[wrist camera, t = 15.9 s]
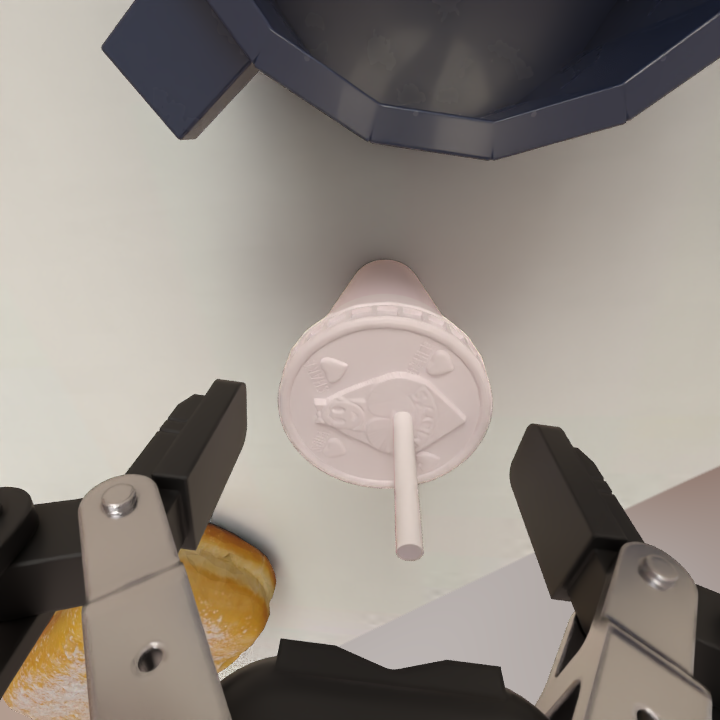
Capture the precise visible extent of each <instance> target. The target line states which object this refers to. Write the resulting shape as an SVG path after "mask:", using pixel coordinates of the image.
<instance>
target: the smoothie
mask: <svg viewBox="0 0 720 720" xmlns="http://www.w3.org/2000/svg"><path fill="white" fill-rule="evenodd" d="M492 407H493V399H492V391H491V386H490V382H489V379H488V377H487V373H486V370H485V366H484V362H483V359H482V356H481V355H480V353H479V352H478V350H477V349H476V347H475V346H474V344H473V343H472V341H471V340H470V338H469V337H468V335H467V334H465V333H464V332H463V331H462V330H460V329H459V328H458V327H457V326H456V325H454V324H453V323H452V322H451V321H449V320H448V319H447V318H445V317H443V315H442V314H441V312H440V311H439V309H438V308H437V306H436V305H435V303H434V302H433V300H432V299H431V297H430V296H429V294H428V293H427V291H426V290H425V288H424V287H423V285H422V284H421V282H420V281H419V279H418V278H417V276H416V275H415V273H414V272H413V271H412V270H411V269H410V268H409V267H407V266H406V265H404V264H402V263H400V262H397V261H394V260H377V261H373V262H371V263H368V264H366V265H365V266H363V267H362V268H361V269H359V270H358V271H357V273H356V274H355V275H354V277H353V278H352V280H351V281H350V282H349V284H348V285H347V287H346V288H345V290H344V291H343V293H342V294H341V296H340V297H339V299H338V300H337V302H336V303H335V305H334V306H333V308H332V309H331V310H330V312H329V313H328V315H327V316H326V317H324V318H323V319H321V320H320V321H318V322H317V323H316V324H314V325H313V326H311V327H310V328H308V329H307V330H306V332H305V333H304V334H303V335H302V337H301V338H300V339H299V340H298V341H297V343H296V344H295V345H294V346H293V348H292V349H291V352H290V354H289V357H288V359H287V362H286V364H285V367H284V369H283V376H282V379H281V382H280V387H279V392H278V410H279V416H280V419H281V423H282V426H283V428H284V431H285V433H286V435H287V436H288V438H289V440H290V441H291V443H292V444H293V446H294V447H295V448H296V449H297V451H298V452H299V453H300V454H301V455H302V456H303V457H304V458H305V459H306V460H307V461H309V462H310V463H311V464H312V465H314V466H315V467H317V468H318V469H319V470H321V471H323V472H325V473H326V474H328V475H330V476H332V477H334V478H337V479H339V480H342V481H344V482H348V483H351V484H355V485H359V486H364V487H372V488H394V490H395V536H396V555H397V556H398V557H399V558H400V559H402V560H405V561H415V560H418V559H420V558H421V557H422V556H423V554H424V548H423V537H422V526H421V514H420V503H419V491H418V484H422V483H425V482H428V481H431V480H434V479H436V478H438V477H441V476H443V475H445V474H446V473H448V472H450V471H452V470H453V469H455V468H456V467H458V466H459V465H460V464H462V463H463V462H464V461H465V460H466V459H467V458H468V457H469V456H470V455H471V454H472V453H473V452H474V451H475V450H476V448H477V447H478V446H479V444H480V443H481V441H482V440H483V438H484V436H485V434H486V432H487V429H488V427H489V424H490V420H491V415H492Z"/></svg>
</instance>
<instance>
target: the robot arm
mask: <svg viewBox="0 0 720 720" xmlns="http://www.w3.org/2000/svg"><path fill="white" fill-rule="evenodd" d="M246 431H247V399H246V385H245V383H243V382H236V381H229V380H221V379H217V380H215V382H214V383H213V384H212V386H211V387H210V389H209V390H208V392H207V393H206V395H205V396H204V395H197V394H194V395H192V396H191V397H189V398H188V399H186V400H184V401H183V402H181V403H180V404H178V405H177V407H176V408H175V409H174V411H173V412H172V413H171V415H170V416H169V417H168V420H166V421H165V422H164V424H163V425H162V426H161V428H160V431H159V432H157V433H156V434H155V436H154V437H153V438H152V440H151V441H150V442H149V443H148V445H147V446H146V447H145V449H144V450H143V451H142V453H141V454H140V455H139V457H138V458H137V459H136V461H135V462H134V463H133V464H132V466H131V467H130V468H129V470H128V471H127V472H126V474H125V475H120V476H116V477H113V478H110V479H108V480H106V481H104V482H102V483H100V484H98V485H97V486H95V487H94V488H93V489H91V490H90V491H89V492H88V493H87V494H86V495H85V496H84V498H81V499H75V500H68V501H60V502H52V503H44V504H36V505H34V504H33V502H32V500H31V497H30V495H29V494H28V493H27V492H26V491H24V490H22V489H19V488H14V487H0V700H1V698H2V696H3V695H4V693H5V692H6V690H7V688H8V687H9V685H10V684H11V682H12V680H13V679H14V677H15V676H16V674H17V672H18V671H19V669H20V668H21V666H22V664H23V663H24V661H25V660H26V658H27V656H28V655H29V653H30V652H31V650H32V648H33V647H34V645H35V644H36V642H37V640H38V639H39V637H40V636H41V634H42V632H43V631H44V629H45V628H46V626H47V624H48V623H49V621H50V620H51V618H52V616H53V615H54V613H55V612H56V611H59V610H64V609H69V608H74V607H79V606H82V612H81V616H82V631H83V643H84V655H85V666H86V678H87V690H88V701H89V713H90V720H720V594H719V593H717V592H714V591H712V590H709V589H707V588H704V587H702V586H699V585H697V584H695V583H694V581H693V579H692V578H691V576H690V575H689V573H688V572H687V571H686V570H685V569H684V568H683V567H682V566H681V565H680V564H679V563H678V562H677V561H676V560H675V559H673V558H672V557H671V556H670V555H668V554H667V553H665V552H664V551H662V550H660V549H658V548H656V547H654V546H652V545H649V544H646V543H644V541H643V540H642V538H641V537H640V535H639V533H638V532H637V530H636V529H635V527H634V525H633V524H632V522H631V521H630V519H629V517H628V516H627V514H626V513H625V511H624V510H623V508H622V506H621V505H620V503H619V502H618V500H617V498H616V497H615V495H612V491H611V489H610V487H609V486H608V484H607V483H606V481H604V480H603V479H604V478H603V476H602V475H601V473H600V472H599V470H598V468H597V467H596V465H595V464H594V462H593V461H592V460H590V459H589V458H588V457H587V456H586V455H585V454H584V453H583V452H582V451H581V450H579V449H578V448H574V447H573V446H572V445H571V443H570V441H569V439H568V438H567V436H566V434H565V433H564V431H563V430H562V429H561V428H560V427H554V426H547V425H540V424H530V425H529V426H528V427H527V429H526V431H525V433H524V436H523V438H522V440H521V442H520V445H519V447H518V449H517V452H516V454H515V456H514V458H513V461H512V463H511V467H510V483H511V487H512V490H513V492H514V495H515V498H516V501H517V504H518V507H519V509H520V512H521V515H522V518H523V521H524V523H525V526H526V529H527V532H528V535H529V537H530V540H531V543H532V546H533V549H534V551H535V554H536V557H537V560H538V563H539V565H540V568H541V571H542V573H543V577H544V579H545V582H546V585H547V588H548V591H549V593H550V596H551V599H556V600H564V601H571V602H572V605H573V607H574V610H575V612H574V613H573V614H572V616H571V617H570V619H569V622H568V625H567V627H566V630H565V633H564V636H563V639H562V642H561V644H560V647H559V650H558V653H557V655H556V658H555V661H554V664H553V667H552V669H551V672H550V675H549V678H548V681H547V683H546V685H545V688H544V690H543V692H542V694H541V696H540V698H539V700H538V701H537V703H536V705H535V706H534V705H532V704H531V703H530V702H529V701H527V700H526V699H524V698H523V697H522V696H520V695H518V694H516V693H515V692H513V691H511V690H510V689H508V688H505V686H504V681H503V676H502V672H501V667H498V666H490V665H483V664H475V663H466V662H459V661H452V660H444V661H438V662H433V663H428V664H423V665H417V666H412V667H408V668H402V669H396V670H392V669H387V668H385V667H382V666H380V665H378V664H376V663H373V662H371V661H369V660H366V659H364V658H362V657H360V656H357V655H355V654H353V653H351V652H348V651H346V650H344V649H342V648H340V647H337V646H335V645H327V644H319V643H312V642H304V641H296V640H288V639H281V640H280V644H279V649H278V654H277V656H274V657H269V658H265V659H262V660H259V661H256V662H253V663H250V664H248V665H246V666H244V667H242V668H240V669H238V670H236V671H235V672H233V673H232V674H230V675H228V676H227V677H225V678H224V679H223V680H221V681H220V680H219V676H218V673H217V670H216V667H215V663H214V660H213V657H212V654H211V650H210V647H209V644H208V641H207V637H206V634H205V631H204V627H203V624H202V621H201V618H200V614H199V611H198V608H197V605H196V601H195V598H194V595H193V592H192V588H191V585H190V582H189V579H188V575H187V572H186V569H185V567H184V564H183V562H180V559H179V556H178V553H179V551H180V549H188V550H195V551H196V549H197V547H198V545H199V542H200V540H201V538H202V536H203V534H204V531H205V529H206V527H207V525H208V523H209V520H210V518H211V516H212V514H213V512H214V509H215V507H216V505H217V503H218V501H219V498H220V496H221V494H222V492H223V490H224V487H225V485H226V483H227V481H228V478H229V476H230V474H231V472H232V470H233V467H234V465H235V463H236V461H237V459H238V456H239V454H240V452H241V450H242V447H243V445H244V441H245V437H246Z"/></svg>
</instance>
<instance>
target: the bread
mask: <svg viewBox="0 0 720 720" xmlns="http://www.w3.org/2000/svg"><path fill="white" fill-rule="evenodd" d="M178 556H179V559H180V562H183V564H184V567H185V569H186V572H187V575H188V579H189V582H190V585H191V588H192V592H193V595H194V598H195V601H196V605H197V608H198V611H199V614H200V618H201V621H202V624H203V627H204V631H205V634H206V637H207V641H208V644H209V647H210V650H211V654H212V657H213V660H214V663H215V667H216V670H217V673H219V672H220V671H222V670H224V669H225V668H227V667H228V666H229V665H230V664H232V663H233V662H234V661H235V660H236V659H237V658H238V657H239V656H240V654H241V653H242V652H244V651H246V650H247V649H248V648H249V647H250V646H251V645H252V644H253V643H254V641H255V640H256V639H257V637H258V636H259V635H260V634H261V632H262V631H263V629H264V627H265V625H266V622H267V620H268V617H269V615H270V607H269V603H270V600H271V599H272V596H273V593H274V590H275V585H276V577H275V573H274V570H273V568H272V566H271V564H270V562H269V560H268V558H267V557H266V556H265V555H264V554H263V553H262V552H261V551H260V550H259V549H257V548H256V547H254V546H252V545H251V544H249V543H247V542H246V541H244V540H243V539H241V538H239V537H238V536H236V535H235V534H233V533H231V532H229V531H227V530H225V529H223V528H220V527H218V526H216V525H214V524H210V523H208V525H207V527H206V529H205V531H204V534H203V536H202V538H201V540H200V542H199V545H198V547H197V549H196V551H195V550H188V549H180V551H179V553H178ZM81 612H82V606H79V607H74V608H69V609H64V610H59V611H56V612H55V613H54V615H53V616H52V618H51V620H50V621H49V623H48V624H47V626H46V628H45V629H44V631H43V632H42V634H41V636H40V637H39V639H38V640H37V642H36V644H35V645H34V647H33V648H32V650H31V652H30V653H29V655H28V656H27V658H26V660H25V661H24V663H23V664H22V666H21V668H20V669H19V671H18V672H17V674H16V676H15V677H14V679H13V680H12V682H11V684H10V685H9V687H8V688H7V690H6V692H5V693H4V695H3V699H4V700H5V702H6V703H7V705H8V706H9V707H11V710H14V711H16V712H19V713H21V714H24V715H25V716H27V717H30V718H31V719H33V720H90V713H89V701H88V690H87V678H86V666H85V655H84V643H83V631H82V616H81Z"/></svg>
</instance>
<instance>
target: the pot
mask: <svg viewBox="0 0 720 720" xmlns="http://www.w3.org/2000/svg"><path fill="white" fill-rule="evenodd" d="M101 48H102V50H103V52H104V53H105V54H106V55H107V56H108V58H109V59H110V60H111V61H112V62H113V63H114V65H115V66H116V67H117V68H118V69H119V70H120V72H121V73H122V74H123V75H124V76H125V77H126V79H127V80H128V81H129V82H130V83H131V84H132V86H133V87H134V88H135V89H136V90H137V91H138V93H139V94H140V95H141V96H142V97H143V98H144V100H145V101H146V102H147V103H148V104H149V105H150V107H151V108H152V109H153V110H154V111H155V112H156V114H157V115H158V116H159V117H160V118H161V119H162V121H163V122H164V123H165V124H166V125H167V126H168V128H169V129H170V130H171V131H172V132H173V133H174V135H175V136H176V137H177V138H178V139H180V140H189V139H196V138H197V137H198V136H199V135H200V134H201V133H202V132H203V131H204V129H205V128H206V127H207V126H208V125H209V124H210V123H211V122H212V121H213V120H214V119H215V118H216V117H217V116H218V114H219V113H220V112H221V111H222V110H223V109H224V108H225V107H226V106H227V105H228V104H229V103H230V102H231V100H232V99H233V98H234V97H235V96H236V95H237V94H238V93H239V92H240V91H241V90H242V89H243V88H244V87H245V85H246V84H247V83H248V82H249V81H250V80H251V79H252V78H253V77H254V76H255V75H256V74H257V73H258V71H261V72H262V73H264V74H265V75H267V76H268V77H270V78H271V79H273V80H274V81H276V82H277V83H279V84H280V85H282V86H283V87H285V88H286V89H288V90H289V91H291V92H292V93H294V94H295V95H297V96H298V97H300V98H302V99H303V100H305V101H306V102H308V103H309V104H311V105H312V106H314V107H315V108H317V109H318V110H320V111H321V112H323V113H324V114H326V115H327V116H329V117H330V118H332V119H333V120H335V121H336V122H338V123H339V124H341V125H342V126H344V127H345V128H347V129H348V130H350V131H351V132H353V133H354V134H356V135H357V136H359V137H361V138H362V139H364V140H365V141H367V142H368V141H370V142H371V143H373V144H380V145H387V146H393V147H400V148H407V149H413V150H420V151H427V152H434V153H440V154H447V155H454V156H460V157H467V158H474V159H480V160H487V161H489V160H498V159H501V158H505V157H509V156H512V155H516V154H519V153H523V152H526V151H530V150H534V149H537V148H541V147H544V146H548V145H551V144H555V143H558V142H562V141H566V140H569V139H573V138H576V137H580V136H583V135H587V134H591V133H594V132H598V131H601V130H605V129H608V128H612V127H616V126H619V125H623V124H624V123H626V121H629V120H631V119H633V118H634V117H635V116H637V115H638V114H640V113H641V112H643V111H644V110H645V109H647V108H648V107H650V106H651V105H653V104H654V103H656V102H657V101H658V100H660V99H661V98H663V97H664V96H666V95H667V94H668V93H670V92H671V91H673V90H674V89H676V88H677V87H679V86H680V85H681V84H683V83H684V82H686V81H687V80H689V79H690V78H691V77H693V76H694V75H696V74H697V73H699V72H700V71H702V70H703V69H704V68H706V67H707V66H709V65H710V64H712V63H713V62H714V61H716V60H717V59H719V58H720V0H135V1H134V2H133V4H132V5H131V6H130V8H129V9H128V10H127V12H126V13H125V15H124V16H123V17H122V19H121V20H120V21H119V23H118V24H117V25H116V27H115V28H114V30H113V31H112V32H111V34H110V35H109V36H108V38H107V39H106V41H105V42H104V43H103V45H102V47H101Z"/></svg>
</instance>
